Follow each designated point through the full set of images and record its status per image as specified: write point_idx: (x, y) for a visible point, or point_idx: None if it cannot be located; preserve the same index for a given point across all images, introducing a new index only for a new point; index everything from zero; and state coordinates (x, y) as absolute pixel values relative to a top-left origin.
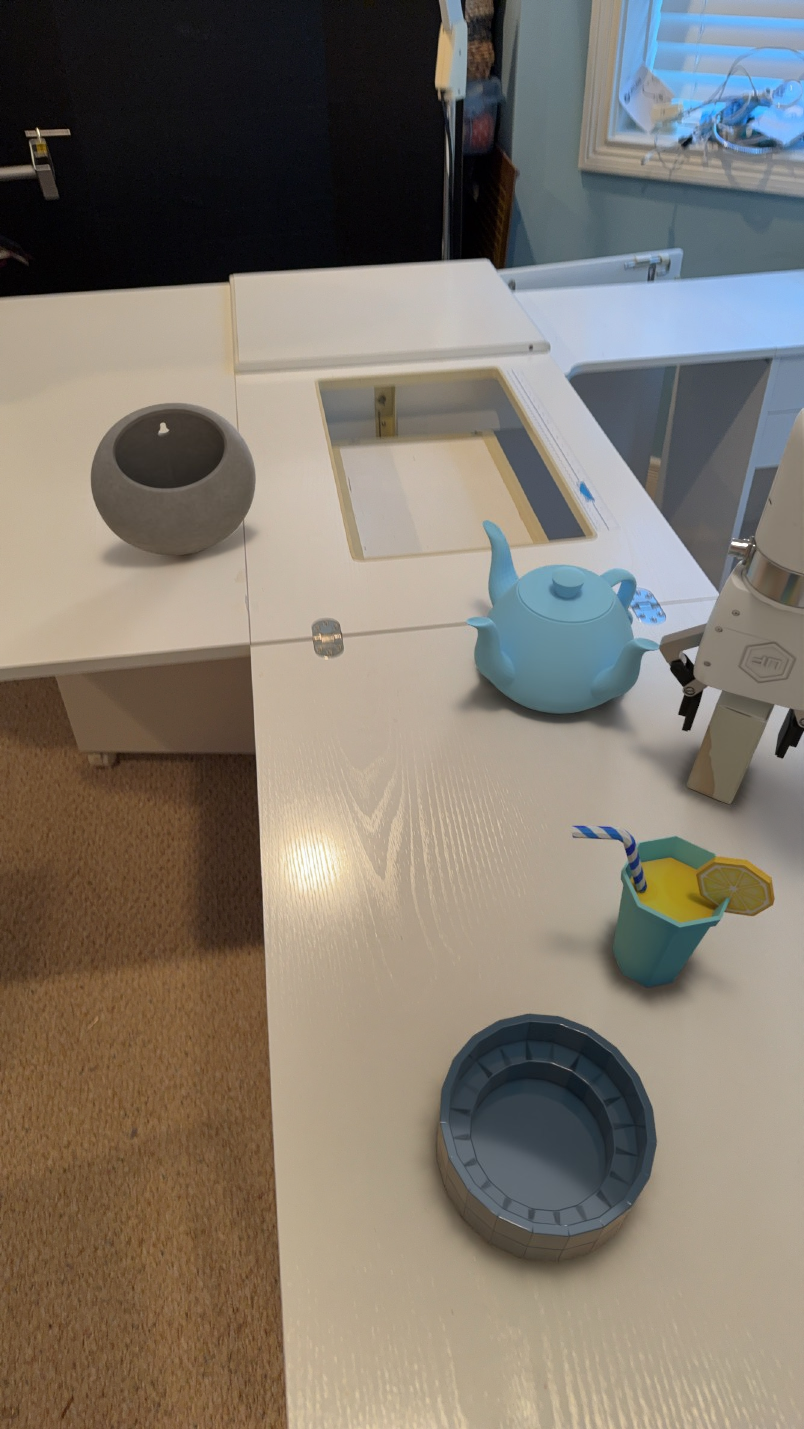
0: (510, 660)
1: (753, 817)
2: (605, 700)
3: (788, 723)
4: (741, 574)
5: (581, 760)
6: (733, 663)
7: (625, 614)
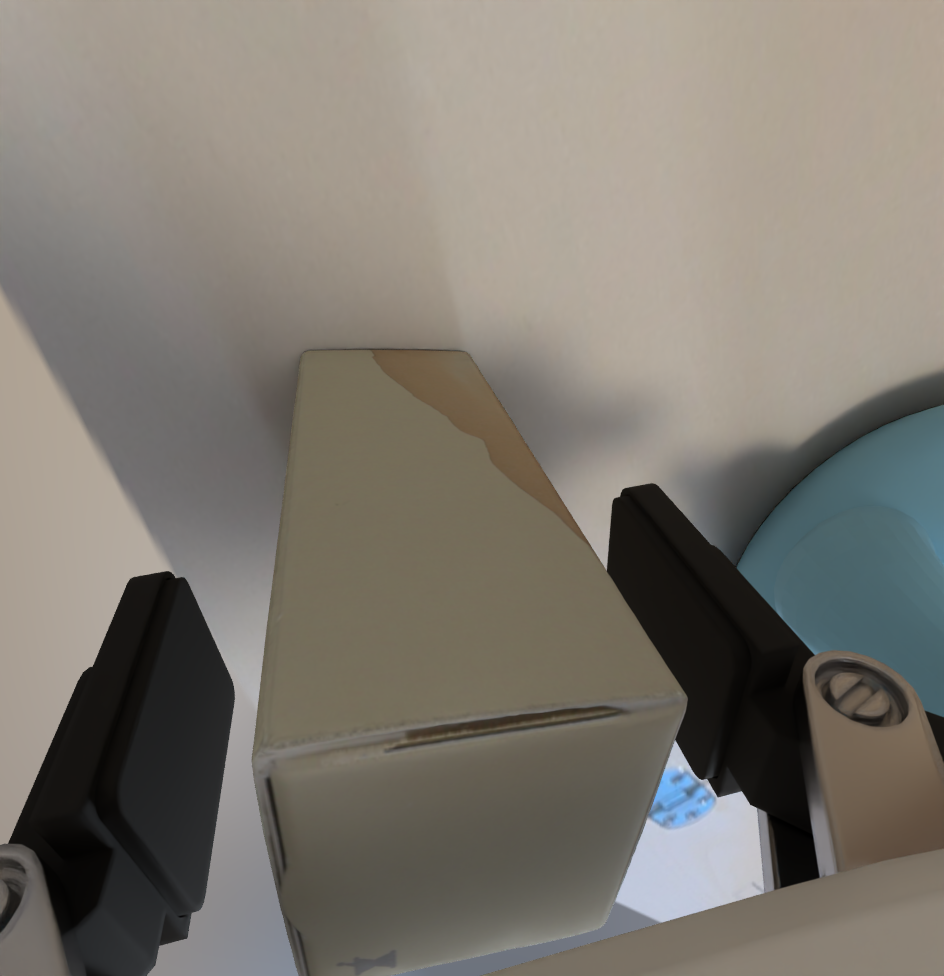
0: None
1: (200, 339)
2: (798, 523)
3: (132, 808)
4: None
5: (813, 282)
6: None
7: None
